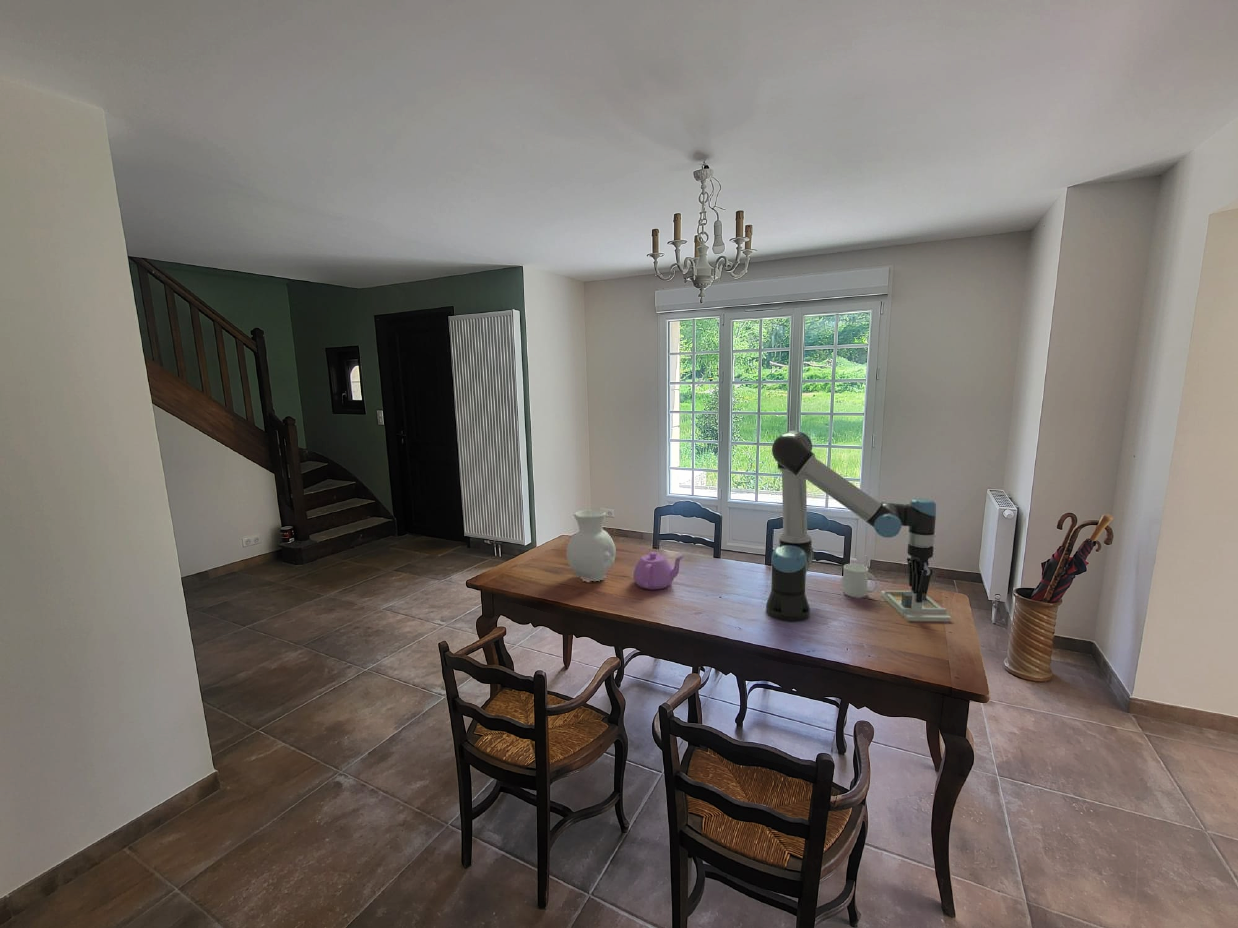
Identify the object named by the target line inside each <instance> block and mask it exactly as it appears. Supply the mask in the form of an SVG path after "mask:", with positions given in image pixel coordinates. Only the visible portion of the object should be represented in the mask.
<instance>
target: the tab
mask: <svg viewBox="0 0 1238 928" xmlns="http://www.w3.org/2000/svg"><path fill="white" fill-rule="evenodd" d="M901 605H902V606H904V607H905V608H911V607H912V592H902V601H901Z"/></svg>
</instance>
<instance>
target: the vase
mask: <svg viewBox="0 0 1238 928" xmlns="http://www.w3.org/2000/svg"><path fill="white" fill-rule="evenodd" d="M606 515H607V512H606V511H605V510H602V509H601V510H600V509H584V510H583V509H582V510H579V511H575V512H574V513H573V516H574V518H575V520H576V522H577V525H578V529H579V531H577V532H575V533H574V534H573V535H572V537H570V540H569V541H568V544H567V547H566V548H567V549H566V560H567V563H568V565H569V567H570V569H571V570H572V572H573V573H574V574H576V575H578V576H579V578H580V577H581V578H583V579H585V580H589V581H594V582H596V581H598V580H601V579H604V578H605V579H606V577H607V576H606V574H607V572H608V571H610V570H611V569H612V567H613V565H614V563H615V560H616V554H617V552H616V551H617V549H616V544H615V543H614V540H613V538H612V537H611V535H610V534H609V533H608V532H607V531H606V530H604V528H603V527H604V522H605V517H606ZM605 579H604V580H605Z"/></svg>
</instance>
